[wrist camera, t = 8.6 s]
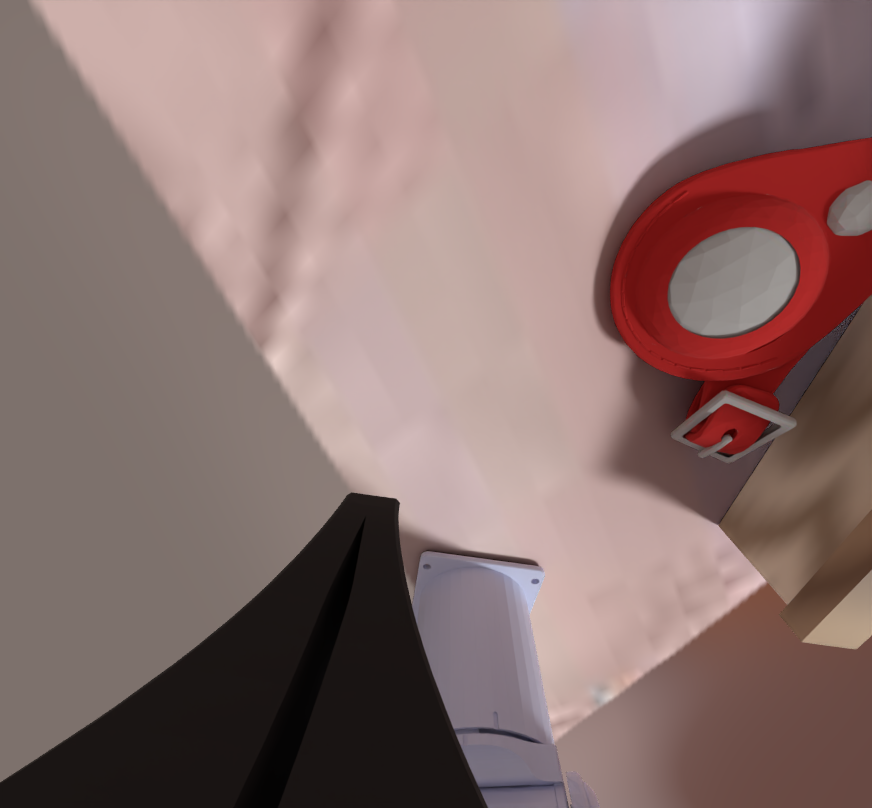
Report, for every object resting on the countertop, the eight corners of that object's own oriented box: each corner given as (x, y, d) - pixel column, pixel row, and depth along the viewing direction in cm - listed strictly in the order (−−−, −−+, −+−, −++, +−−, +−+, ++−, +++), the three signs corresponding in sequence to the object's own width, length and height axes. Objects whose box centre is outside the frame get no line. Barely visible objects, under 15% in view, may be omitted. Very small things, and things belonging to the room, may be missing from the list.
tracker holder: (561, 262, 15) (908, 24, 10) (568, 257, 19) (821, 84, 13) (703, 498, 16) (1069, 401, 11) (683, 450, 20) (950, 360, 15)
